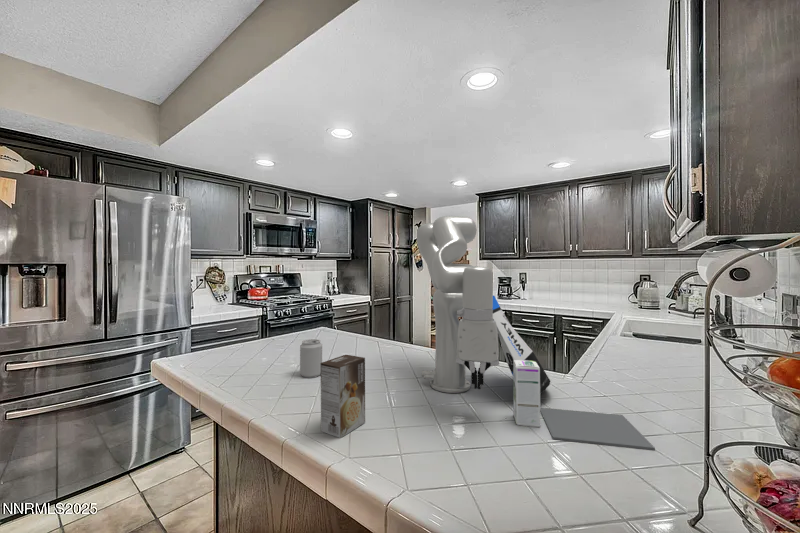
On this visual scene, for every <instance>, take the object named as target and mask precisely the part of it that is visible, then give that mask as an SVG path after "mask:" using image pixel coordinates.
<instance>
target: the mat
mask: <svg viewBox="0 0 800 533" xmlns="http://www.w3.org/2000/svg"><path fill="white" fill-rule="evenodd" d="M540 415H541V416H542V419H543V421H544V422H545V425H546V428H547V429H548V431H549V434H550V436H551V439H552V440H555V441H567V442H575V443H582V444H583V443H584V444H594V445H603V446H604V445H605V446H611V447H612V446H613V447H619V448H620V447H621V448H632V449H639V450H648V451H650V450H651V451H655V450H656V448H655V446H654V445H653V444H652V443H651V442H650V441H649V440H648V439H647V438H646V437H645V436H644V435H643V434H642V433H641V432H640V431H639V430H638V429H637V428H636V427H635V426H634V425H633V424H632V423H631V422H630V421H629V419H627V418H626V417H625V416H624V415H623V414H617V413H604V412H594V411H586V410H585V411H582V410H573V409H561V408H560V409H559V408H548V407H540Z"/></svg>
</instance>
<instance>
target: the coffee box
mask: <svg viewBox="0 0 800 533" xmlns="http://www.w3.org/2000/svg"><path fill="white" fill-rule="evenodd" d="M320 364H321V374H320V431H321V432H322V433H326V434H328V435H331V436H334V437H335V438H336V437H337V438H339V439H342V438H343V437H344V436H346V435H348V434H349V433H350V432H352V431H355V429H357V428H359V427H360V426H362V425H364V424H365V423H366V357H363V356H357V355H356V356H355V355H351V354H343V355H340V356H337V357H334V358H331V359H328V360H325V361H322V363H320Z"/></svg>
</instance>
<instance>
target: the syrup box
mask: <svg viewBox="0 0 800 533" xmlns="http://www.w3.org/2000/svg"><path fill="white" fill-rule="evenodd" d="M512 377H513V378H512V379H513V380H512V382H513V384H512V386H513V391H512V392H513V397H512V398H513V417H514V422H515V425H517V426H522V427H523V426H524V427H531V428H532V427H534V428H541V412H540V408H541V394H540V367H539V366H538V364H537V363H536V361H531V360H514V361H513V375H512Z"/></svg>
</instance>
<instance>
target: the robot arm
mask: <svg viewBox="0 0 800 533" xmlns="http://www.w3.org/2000/svg"><path fill="white" fill-rule="evenodd" d="M476 236H477V225H476V222H475V221H474V219H472V217H470V216H455V215H454V216H453V215H445V216H443V215H442V216H440V217H438V218H436V219H435V220H434V222H429V223H424V224H422V225H420V226H419V227H418V228H417V231H416V244H417V245H416V246H417V247H418V251H419V253H420V255H421V258H423V260H424V261H425V263H426V265H427V269H428V273H429V277H430V280H431V284H432V286H433V288H434V289H435V291H434V293H433V295H432V305H433V310H434V311H433V312H434V323H435V325H434V326H435V360H434V361H435V368H434V370H431V371H428V370H422V371H421V378H424V379H425V380H429V379H430V387H431V388H433V390H436V391H437V392H442V393H446V394H447V393H450V394H459V393H464V392H467V391H469V390H470V389H471V385H473V389H475V390H476V389H478V390H481V386H483V385H484V373H485V372H486V371H487V370H488V369H489V368H491V367H497V366H499V365H500V361H499V338H498V332H497V325H496V321H494V320H493V296H494V295H493V294H494V290H493V289H494V282H493V281H494V275H493V270H492V269H491V267H488V266H479V265H478V266H477V265H471V264H466V263H454V262H456V261H458V260H459V259H461V258H462V257H464V255H465V254H466V252H467V250H468V244H469V243H471V242H472V241H473V240H475V238H476ZM459 318H461V319H459ZM475 362H476V363H477V362H478V363H479V368H478V369H477V368H476V365H475ZM466 368H467V369H468V370H469V371H470V374H471V376H470V377H471V378H470V379H471V382H470V381H469V380H468V379H466Z"/></svg>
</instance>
